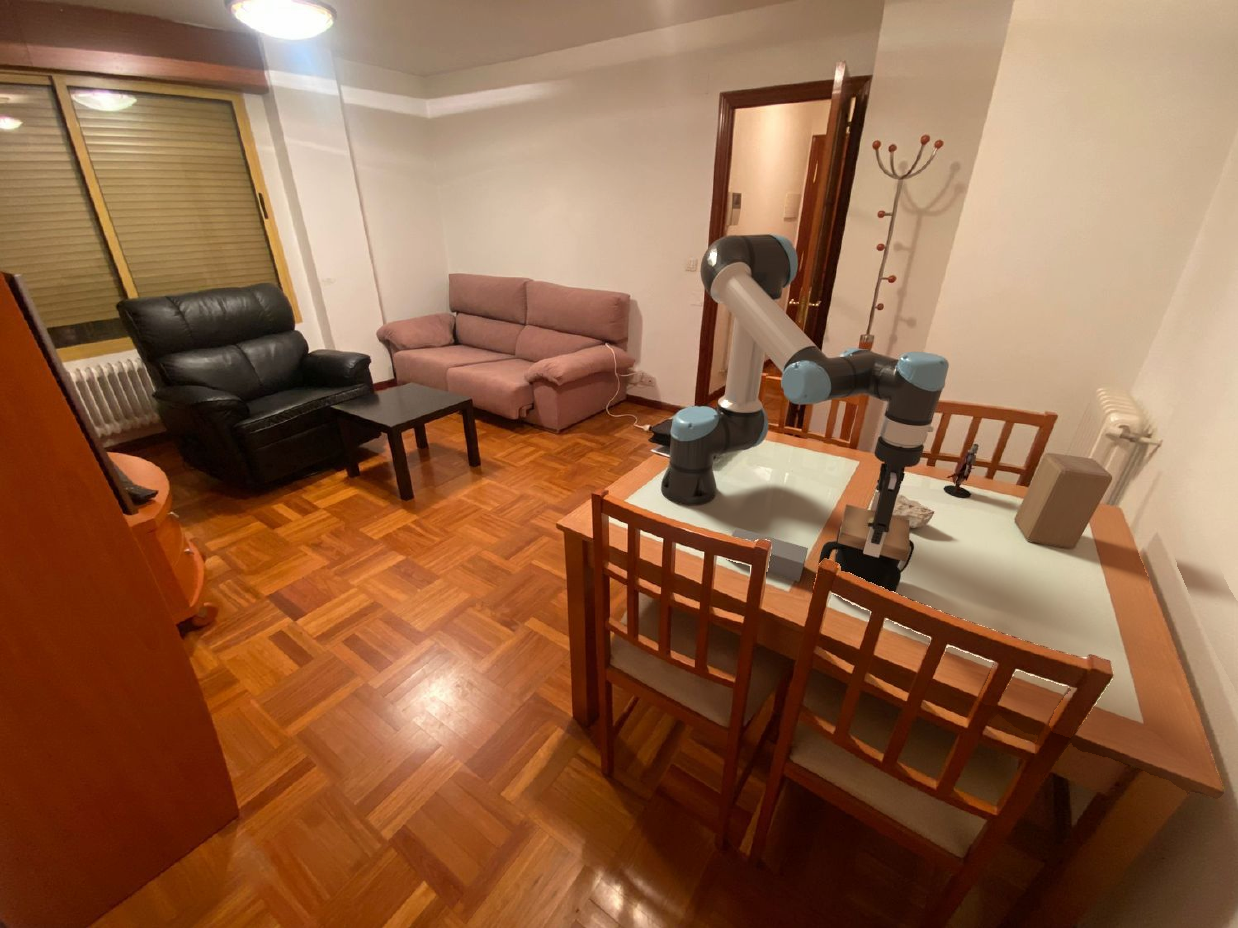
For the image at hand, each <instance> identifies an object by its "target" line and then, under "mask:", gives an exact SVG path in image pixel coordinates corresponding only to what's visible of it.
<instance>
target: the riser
mask: <svg viewBox="0 0 1238 928" xmlns="http://www.w3.org/2000/svg"><path fill="white" fill-rule="evenodd" d="M731 536H733V537H738V538H741V539H748V540H751V541H753V542H754V541H755V540H757V539H767V540H770V541H771V543H772V549H771V556H770V561H769V568H768V572H767V573H768V574H771V575H774V576H778V577H781V578H785V579H788V580H790V581H794V582H797V583H800V580H801V577H802V573H803V570H804V568H805V563H806V560H807V555H808V550H809V548H808V547H807V546H806V547H805V546H802V545H798V544H795V543H792V542H788V541H786V540H785V541H784V540H783V539H782V540H781V539H778V538H774V537H770V536H767V535H765V534H764V535H763V534H760V533H756V532H753V531H750V530H747V529H743V528H739V527H735V529H734V530H733V532H732V533H731Z"/></svg>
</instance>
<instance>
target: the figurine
mask: <svg viewBox="0 0 1238 928" xmlns="http://www.w3.org/2000/svg"><path fill="white" fill-rule="evenodd" d="M978 450H979V444H977V443H973V444H972V446H970V449H967V450H966V451H965V452H964V456H963V459H962V461H961V463H960V464H959V466H958V467H957V469H956V471H955V472H953V474H951V475H948V476H946V478H947V479H950V478H952V483H953V484H954V485H950V484H949V485H945V486H944V487H943V491H944V493H946V494H948V495H949V496H952V497H954V498H955V497H956V498H957V499H958V498H959V499H969V498H970V497H971V496H972V493H971V492H970V491H969V490H968V489H966V488H965V487H962V486H961V485H962V483H963V482H965V481H968V480H969V476H970V474H971V473H972V470H973V469H975V467H973V465H974V464H975V462H976V459H977V455H976V454H978Z"/></svg>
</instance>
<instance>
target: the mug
mask: <svg viewBox="0 0 1238 928" xmlns="http://www.w3.org/2000/svg"><path fill="white" fill-rule="evenodd" d="M841 525H842V521H841V522H840V525H839V528H838V532H837V535H836V540H834V541H832V540H831V541H828V542H827V541H826V542H825V543H824V544H823V545H822V548H821V550H820V555H819V558H818V565H819V563H820V562H821V561H822V560H823V559H824V558H827V559H829V560H830V558H831V555H832V552H833V551H834V550H835V552H834V561H835V562H837V563H839V564H840V566H841V571H845V572H850V573H852V574H854V575H856V576H858V577H861V578H863V579H865V580H866V581H868V582H872V583H874V584H876V585H878V586H882V587H884V588H885V589H888V590H889V591H894V592H895V593H896V591H897V590H898V586H899V584H900V581H901V578H902V572H903V571H904V570H905V569H906V568H907V567H908V565H909V564H910V561H911V558H912V555H913V553H914V550H915V544H914V542H913V541H912V540H911V539H910V552H909V554H908V557H907V560H906V562H905V561H901V560H898V559H894V558H890V557H887V556H883V555H879V558H878V557H874V556H871V555H867V554H863V551H864V550H862V549H858V548H855V547H851V546H848V545H844V544H840V543H838V539H839V534H840V529H841ZM884 588H883V589H884Z"/></svg>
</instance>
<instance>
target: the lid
mask: <svg viewBox="0 0 1238 928" xmlns="http://www.w3.org/2000/svg"><path fill="white" fill-rule="evenodd" d="M874 516H875V511H871V510H870V509H866V508H863V507H859V506H854V505H852V504H845V509H844V511H843V515H842V520H841V522H842V525H841V529H840V534H839V539H838V543H840V544H844V545H848V546H851V547H855V548H858V549H862V550H864V548H865V544H866V541H867V537H868V534H869V530H870V526H868V523H872V522H873V521H874ZM910 540H911V539H910V527H909V520H907V519H903V518H899V517H895V516H892V517H891V521H890V525H889V531H888V532H887V533H886V535H885V539H884V542H883V545H882V548H881V552H880V555H883V556H887V557H890V558H894V559H898V560H901V561H905V562H906V560H907V557H908V554H909V552H910Z"/></svg>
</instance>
